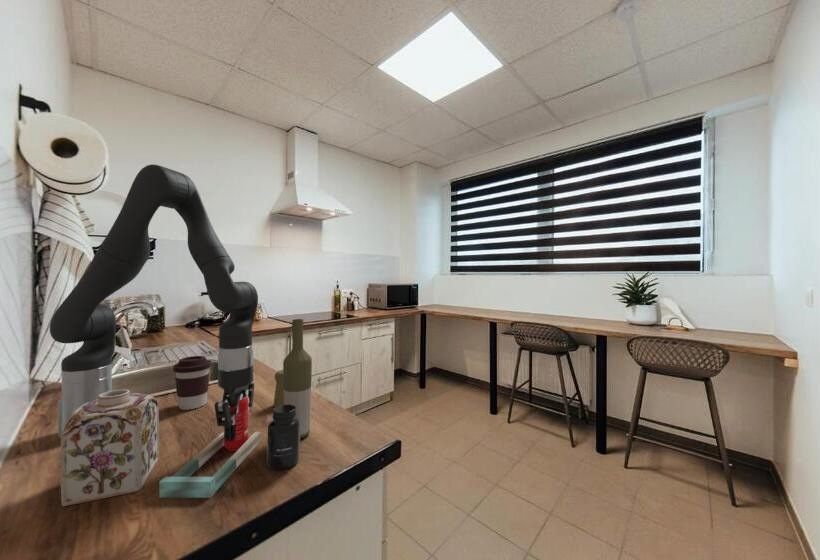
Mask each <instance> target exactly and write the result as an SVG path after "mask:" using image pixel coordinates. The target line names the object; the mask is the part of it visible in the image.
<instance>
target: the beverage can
mask: <svg viewBox="0 0 820 560" xmlns="http://www.w3.org/2000/svg"><path fill="white" fill-rule="evenodd" d="M235 406H236V405H235ZM234 410H235V407H229V411H234ZM230 418H232V415H231V414H230ZM248 439H249V412H248V398H247V395H246V396H243V398H242V400H241V401H240V402H239V413H238V414H237V415H236V421H235V439H234V440H233V441H225V439H224V445H223V446H224V447H225V449H226V450H227V451H230V452H235V451H236V452H237V451H238V450H239V449H240V447H241V446H242V445H243V444H244V443H245V442H246V441H247V440H248Z"/></svg>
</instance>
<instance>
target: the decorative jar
mask: <svg viewBox="0 0 820 560" xmlns="http://www.w3.org/2000/svg"><path fill="white" fill-rule="evenodd" d="M130 391H131V390H129V389H116V390H113V389H112V391H109V392H105V393H102V394H100V395H99V396H98V399H96V400H94V401H91V402H88V403H85V404H83V405H82V406H80V407H79V408H77V409H76V410H75V411H74V412H73V413H72V414H71V416H70V417H69V420H68V422H67V423H66V425H65V427H64V430H63V431H62V433H61V434H60V435H61V437H60V500H61V501H60V502H61V507H67V506H73V505H74V506H75V505H77V504H83V503H84V504H85V503H88V502H89V503H90V502H93V501H97V500H103V499H107V498H112V497H116V496H121V495H126V494H131V493H135V492H136V493H137V492H140V491H141V489H142V488H143V486H144V485H145V483H146V481H147V479H148V477H149V476H150V474H151V472H152V471H153V469H154V467H155V466H156V464H157V463H158V461H159V460H160V459H159V453H160V451H159V450H160V419H159V417H160V414H159V413H160V411H159V404H160V402H159V401H158V400H157V399H156V398H155V397H154V396H153V395H149V394H146V393H142V392H141V393H140V392H136V393H131V392H130Z"/></svg>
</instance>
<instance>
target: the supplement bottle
mask: <svg viewBox="0 0 820 560" xmlns="http://www.w3.org/2000/svg"><path fill="white" fill-rule="evenodd" d="M271 416H272V419H271V421H270V422H269V423H268V425H267V432H266V434H267V437H266V438H267V439H266V442H267V443H266V465H267V466H268V467H269V468H270V469H271V470H273V471H283V470H288V469H290V468H292V467H294V466H295V465H296V464H297V463H298V462H299V460H300V455H301V454H300V453H301V451H300V449H301V438H300V421H299V419H298V418H296V407H295V406H293V405H281V406H277V407H276V408H274V407H273V409H272V415H271Z"/></svg>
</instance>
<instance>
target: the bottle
mask: <svg viewBox="0 0 820 560" xmlns="http://www.w3.org/2000/svg"><path fill="white" fill-rule="evenodd" d="M291 322H292V323H291V326H292V335H291V336H292V337H291V339H292V342H291V343H292V344H291V345H292V349H291V351H289V353H288V354H287V355H286V357H285V358H284V359H283V365H282V366H283V367H282V370H283V378H284V405H293V406H295V407H296V418H298V419H299V421H300V439H302V438H305V437H307V436H308V435H309V434H310V431H311V424H312V423H311V421H312V419H311V418H312V365H313V364H312V363H313V358H312V356H311V355H310V354H309V353H308V352H307V351H306V350H305V349H304V319H302V318H297V319H295V318H294V319H292V321H291Z"/></svg>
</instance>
